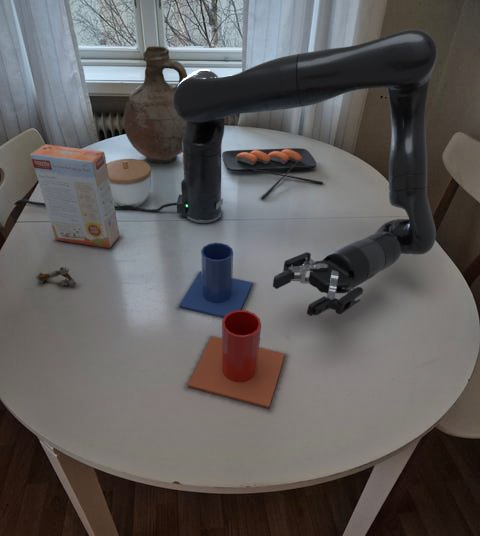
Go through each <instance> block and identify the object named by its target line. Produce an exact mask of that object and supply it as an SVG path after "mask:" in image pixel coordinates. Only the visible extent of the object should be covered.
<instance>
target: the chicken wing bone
mask: <svg viewBox="0 0 480 536" xmlns="http://www.w3.org/2000/svg"><path fill="white" fill-rule="evenodd" d="M69 271H70V269H69V268H68V267H66V266H65V267H64V266H61V267H59V269H58V270H57V269H56V270H53V271H50V272H48V273H43V272H42V271H39V273H37V275H35V278H36V280H37V281H38V282H39V283H40V284H43V283H44V282H45V281H46V280H48V279H50V278H51V279H53V278H57V277H59V276H62V277H64V278H65V279H62V280H61V281H60V282H59V284H60V285H61V286H62V287H63V286H68V285H69V284H71V285H72V287H73V286H76V285H77V282H76V281H75V279H74V278H73V277H72V275H70V273H69Z"/></svg>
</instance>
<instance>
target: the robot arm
mask: <svg viewBox="0 0 480 536" xmlns="http://www.w3.org/2000/svg"><path fill="white" fill-rule="evenodd" d="M436 43H437V42H436V40H435V39H434V38H433V36H432V35H431V34H430V33H428V32H426V31H424V30H423V29H417V28H411V29H405V30H401V31H398V32H395V33H392V34H389V35H385V36H383V37H380V38H379V37H378V38H376V39H373V40H369V41H366V42H363V43H359V44H354V45H350V46H343V47H335V48H333V47H332V48H327V49H320V50H315V51H309V52H308V51H307V52H301V53H296V54H290V55H285V56H280V57H277V58H274V59H270V60H268V61H265V62H262V63H260V64H257V65H254V66H252V67H250V68H247V69H244V70H243V71H240V72H238V73H233V74H231V75H225V76H218V75H217V74H216V73H215V72H213V71H212V70H210V69H198V70H196V71H193V72H192V73H190V74H189V75H187V77H186V78H185V79H184V80H182V81H181V82H180V84H179V85H178V84H177V85H178V86H177V85H176V86H177V88H176V90H175V92H174V96H173V105H174V109H175V111H176V112H177V114H178V115H179V116H180V117H181V118H182V119H183V120H185V121H187V122H186V127H185V131H184V134H183V137H182V152H181V153H182V167H183V179H182V181H181V182H180V191H181V193H179V194H178V197H177V200H176V201H177V202H169V203H165V204H162V205H160V206H159V207H158V208H152V209H149V208H142V207H139V206H137V207H133V206H120V205H114V208H115V210H123V209H124V210H135V211H140V212H145V213H158V212H161V211H162V210H163V209H165V208H168V207H174V206H176V213H177V214H182V217H183V218H187V220H189V221H191V222H193V223H197V224H209V223H214V222H217V221H219V219H220V218H221V217H222V205H223V204H224V198H222V144H223V138H224V135H225V124H226V123H225V121H226V118H228V117H232V116H235V115H241V114H253V113H264V112H272V111H280V110H288V109H295V108H296V109H297V108H302V107H308V106H312V105H316V104H320V103H322V102H327V101H328V100H331V99H333V98H336V97H339V96H341V95H344V94H346V93H350V92H353V91H354V92H355V91H358V90H367V89H379V88H386V90H387V96H388V102H389V108H390V127H391V128H390V144H389V145H390V147H389V161H388V198H389V199H388V201H389V203H390V205H391V206H392V207H395V208H399V209H402V210H404V211H405V213H406V214H407V218H397V219H392V220H388V221H387V222H384V223H382V225H381V226H380V227H378V229H377V230H376V231H375V232H374V233H372V234H371V235H369V236H366V237H365V238H362V239H359V240H356V241H354V242H351V243H349V244H347V245H345V246H343V247H341V248H339V249H336V250H335V251H333V252H331V253H329V254H327V255H326V257H325V258H323V259H321V260H314V259H312V258H311V256H312V254H311V252H308V251H307V252H306V251H305V252H303V253H301V254H298V255H296V256H294V257H291V258H288V259H286V260H284V262H283V269H282V272H280V273H278V274H276V275H274V276H273V281H272V287H273V288H274V289H275V290H278V289H280V288H282V287H284V286H286V285H288V284H290V283H291V282H300V284H303V285H304V284H307V285H308V284H309V285H311V286H312V287H314V288H316V289H317V290H318V291H319V292H320V293H322V294H323V293H325V294H326V295H324V296H321V297H320V298H318V299H316V300H314V301H313V302H311V303H310V304H309V305H308V306H307V311H306V314H307V315H308V316H309V317H312V316H318V315H320V314H322V313H324V312H325V311H327V310H328V311H331V310H333V311H334V312H335V314H337V315H342V314H343V313H345V312H346V311H348V310H350V309H351V308H352V307H354V306H355V305H356V304H358V303H359V302H360V301H361V299H362V295H363V292H364V288H363V287H361V286H360V285H361V284H364V283H365V282H367V281H369V280H370V279H372V278H374V277H375V276H376V275H378V274H379V273H381V272H382V271H383V270H385V269H388V268H389V267H390V266H392V265H394V264H396V263H397V261H398V260H399V259H400V257H401V255H402V254H403V255H415V256H416V255H417V256H418V255H419V256H420V255H425V254H427V253H428V252H430V251H431V250H432V249H433V247H434V245H435V242H436V239H437V228H436V224H435V221H434V217H433V214H432V209H431V206H430V201H429V197H428V188H427V187H428V150H427V149H428V148H427V138H426V137H427V135H426V108H427V99H428V94H429V87H430V83H431V76H432V75H433V73H434V70H435V66H436V62H437V58H438V47H437V44H436ZM21 203H25V204H30V205H35V206H44V207H46V205H45V202H39V201H32V200H28V199H19V200H16V201H15V202H14V206H18V205H19V204H21ZM307 272H309V274H308V275H309V276H307ZM297 273H300V274H297ZM336 294H345V295H343V296H341V297H339V298H336Z"/></svg>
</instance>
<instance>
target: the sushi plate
mask: <svg viewBox="0 0 480 536" xmlns="http://www.w3.org/2000/svg"><path fill="white" fill-rule="evenodd" d="M221 159H222V160H223V163H224V166H225V168H226V169H227V170H229V171H233V172H260V173H266V174H269V175H275V176H279V177H280V179H278V180H277V181H276V182H275V183H274V184H273V185H272V186H271V187H270V188H269V189H268V190H267V191H266V192H265V193H264V194H263V195H262V196H261V200H264V199H265V198H266V197H267V196H268V195H269V194H270V193H271V192H272V191H273V190H274V189H275V188H276V187H277V186H278V185H279V184H280V183H281V181H283V179H284V178H288V179H289V178H290V179H294V180H299V181H303V182H308V183H313V184H319V185H323V183H324V182H323V181H320V180H315V179H309V178H304V177H299V176H294V175H289V173H290V172H291V171H292V170H300V169H312V168H315V167H317V161H316V159H315V158H314V157H313V155H312V154H311V152H310V151H309V150H308V149H306V148H301V147H295V148H294V147H291V148H264V149H262V148H261V149H260V148H259V149H233V150H226V151H225V150H224V151H223V152H221ZM280 170H281V171H282V170H288V171H287V172H286V173H284V174H283V173H277V172H272V171H280Z"/></svg>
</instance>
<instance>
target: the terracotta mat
mask: <svg viewBox="0 0 480 536" xmlns="http://www.w3.org/2000/svg"><path fill="white" fill-rule="evenodd" d="M285 356H286V353H283V352H279V351H275V350H272V349H271V350H270V349H268V348H267V349H266V348H262V347H259V353H258V363H257V369H256V374H255V375H254V377H253V378H251V379H250V380H248V381H245V382H234V381H231V380H229V379H228V378H226V377H225V376H224V374H223V372H222V337H217V336H213V335H212V336H211V337H210V339H209V341H208V343H207V345H206V346H205V349H204V351H203V353H202V355H201V357H200V359H199V362H198V363H197V366H196V368H195V369H194V372H193V374H192V376H191V378H190V380H189V382H188V384H187V387H188V388H190V389H193V390H199V391H203V392H205V393H210V394H212V395H213V394H214V395H216V396H221V397H224V398H228V399H233V400H236V401H240V402H243V403H246V404H250V405H254V406H258V407H262V408H265V409H270V407H271V403H272V401H273V396H274V394H275V390H276V387H277V383H278V380H279V376H280V373H281V370H282V366H283V363H284V360H285Z"/></svg>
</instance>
